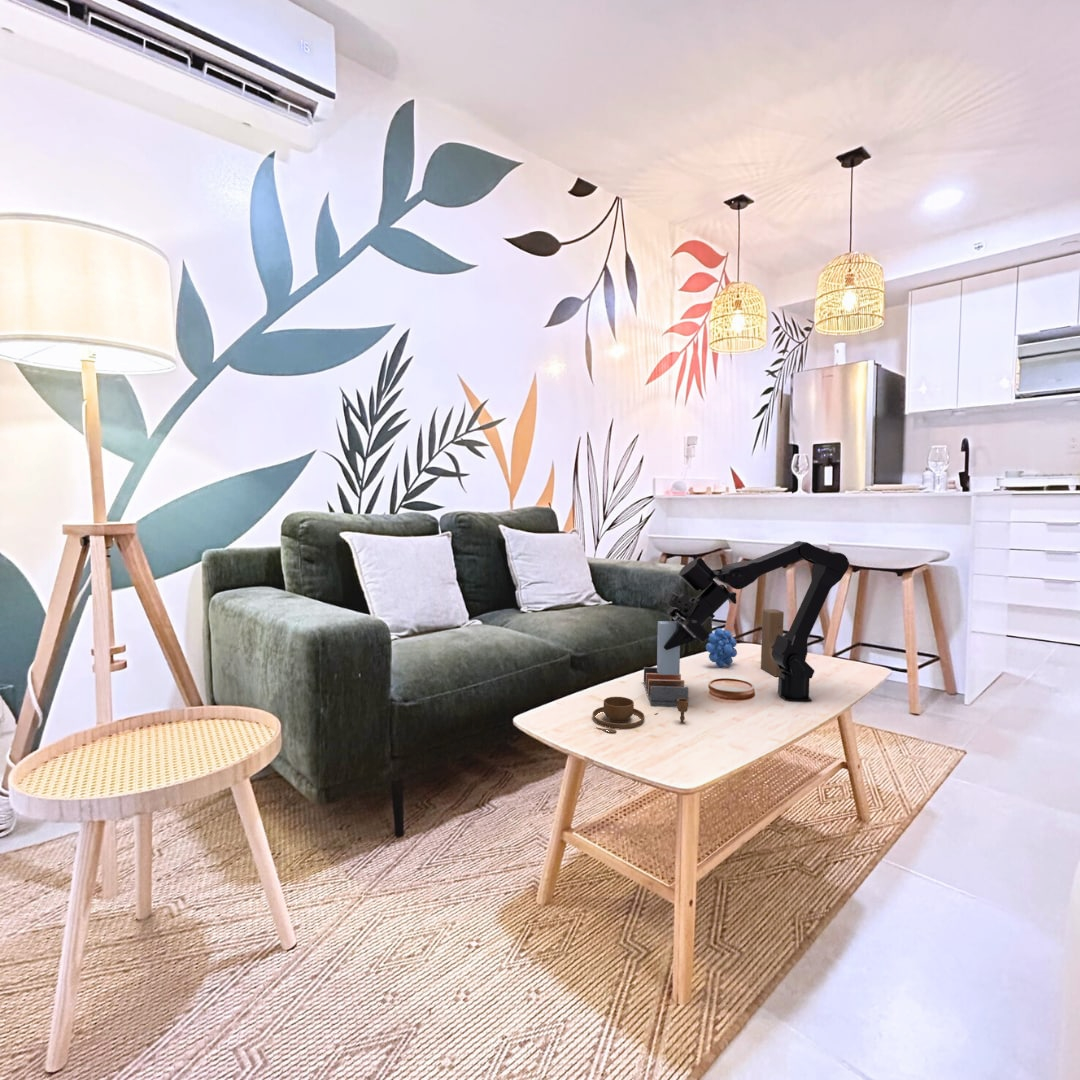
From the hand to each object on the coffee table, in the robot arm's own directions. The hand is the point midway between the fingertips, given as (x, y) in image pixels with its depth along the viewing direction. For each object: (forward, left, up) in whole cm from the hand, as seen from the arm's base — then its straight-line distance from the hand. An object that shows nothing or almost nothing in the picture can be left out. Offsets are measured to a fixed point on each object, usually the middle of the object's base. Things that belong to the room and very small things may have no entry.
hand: (663, 647), depth 152 cm
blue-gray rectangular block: (-1, 0, -7) cm, 7 cm away
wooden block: (-36, -26, -14) cm, 47 cm away
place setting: (+8, +17, -14) cm, 24 cm away
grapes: (-22, -30, -14) cm, 40 cm away
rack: (-1, -4, -13) cm, 14 cm away
